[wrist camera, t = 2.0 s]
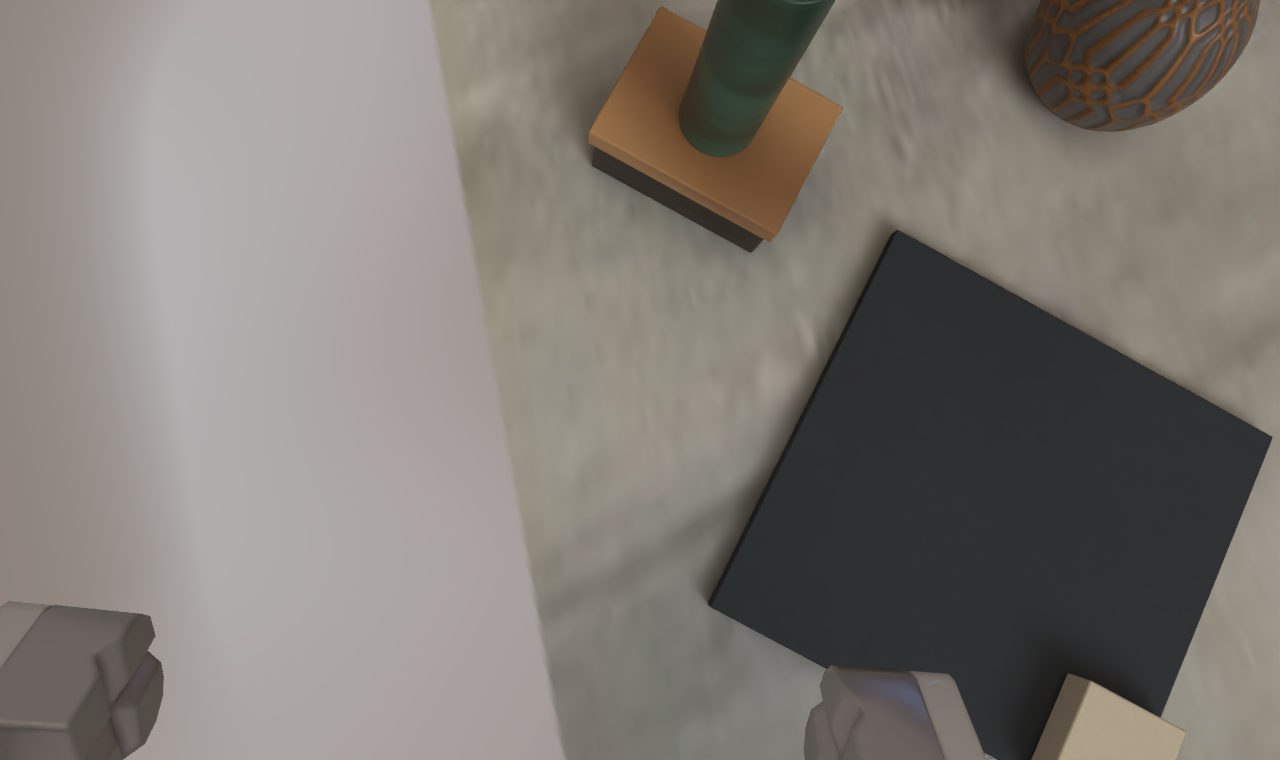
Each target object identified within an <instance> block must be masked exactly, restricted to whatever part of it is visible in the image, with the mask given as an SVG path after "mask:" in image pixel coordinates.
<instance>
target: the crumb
mask: <svg viewBox="0 0 1280 760" xmlns="http://www.w3.org/2000/svg"><path fill="white" fill-rule="evenodd" d="M1185 736H1186V732H1185V731H1184V730H1182V729H1181V728H1179V727H1177V726H1175V725H1173V724H1171V723H1169V722H1168V721H1166V720H1164V719H1162V718H1160V717H1158V716H1156V715H1154V714H1153V713H1151V712H1149V711H1147V710H1145V709H1143V708H1141V707H1140V706H1138V705H1136V704H1134V703H1132V702H1130V701H1128V700H1127V699H1125V698H1123V697H1121V696H1119V695H1117V694H1115V693H1114V692H1112V691H1110V690H1108V689H1106V688H1104V687H1102V686H1101V685H1099V684H1097V683H1095V682H1093V681H1091V680H1088V679H1085V678H1082V677H1079V676H1076V675H1073V674H1070V673H1068V674H1067V676H1066V678H1065V681H1064V683H1063V685H1062V688H1061V690H1060V692H1059V695H1058V697H1057V700H1056V702H1055V704H1054V707H1053V709H1052V711H1051V714H1050V716H1049V719H1048V721H1047V723H1046V726H1045V728H1044V730H1043V733H1042V735H1041V738H1040V740H1039V742H1038V745H1037V747H1036V749H1035V752H1034V754H1033V756H1032V759H1031V760H1176V758H1177V756H1178V753H1179V751H1180V748H1181V746H1182V743H1183V741H1184V738H1185Z"/></svg>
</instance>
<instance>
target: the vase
mask: <svg viewBox="0 0 1280 760" xmlns="http://www.w3.org/2000/svg"><path fill="white" fill-rule="evenodd" d="M1259 3H1260V0H1041V2H1040V4H1039V6H1038V7H1037V9H1036V12H1035V14H1034V17H1033V19H1032V22H1031V25H1030V28H1029V32H1028V37H1027V42H1026V64H1027V69H1028V73H1029V77H1030V80H1031V83H1032V86H1033V88H1034V90H1035V92H1036V93H1037V95H1038V97H1039V98H1040V99H1041V101H1042V102H1043V103H1044V104H1045V105H1046V107H1047V108H1048V109H1049V110H1051V111H1052V112H1053V113H1054V114H1055V115H1057V116H1058V117H1060V118H1061V119H1063V120H1065V121H1067V122H1069V123H1071V124H1073V125H1075V126H1078V127H1081V128H1084V129H1088V130H1093V131H1108V132H1112V131H1124V130H1131V129H1136V128H1140V127H1144V126H1147V125H1151V124H1154V123H1156V122H1159V121H1161V120H1163V119H1165V118H1168V117H1170V116H1172V115H1174V114H1176V113H1177V112H1179V111H1181V110H1183V109H1185V108H1186V107H1188V106H1190V105H1191V104H1193V103H1194V102H1196V101H1197V100H1199V99H1200V98H1201V97H1203V96H1204V95H1205V94H1206V93H1207V92H1208V91H1210V90H1211V89H1212V88H1213V87H1214V86H1215V85H1216V84H1217V83H1218V82H1219V81H1220V80H1221V79H1222V78H1223V77H1224V76H1225V75H1226V73H1227V72H1228V71H1229V70H1230V69H1231V67H1232V66H1233V65H1234V64H1235V62H1236V61H1237V59H1238V58H1239V56H1240V55H1241V54H1242V52H1243V50H1244V48H1245V47H1246V45H1247V43H1248V41H1249V39H1250V37H1251V34H1252V32H1253V29H1254V26H1255V23H1256V19H1257V15H1258V9H1259Z"/></svg>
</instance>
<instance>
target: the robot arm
mask: <svg viewBox="0 0 1280 760" xmlns="http://www.w3.org/2000/svg"><path fill="white" fill-rule="evenodd" d="M154 638H155V632H154V629H153V625H152V621H151V617H150V616H147V615H144V614H136V613H128V612H118V611H107V610H98V609H88V608H78V607H68V606H58V605H44V604H32V603H22V602H12V601H9V602H7V603H5V604H4V605H2V606H1V607H0V760H123V759H124V758H126V757H127V756H129V755H130V754H131V753H133V752H134V751H136V750H137V749H138V748H140V747H141V746H142V745H144V744H145V743H146V741H147V739H148V737H149V735H150V732H151V730H152V728H153V726H154V724H155V722H156V719H157V716H158V712H159V708H160V705H161V701H162V697H163V680H164V676H163V671H162V665H161V662H160V661H159V660H158V659H157V658H155V657H154V656H153V655H152V654H151V653H150V652H148V651H147V650H148V648H149V647H150V645H151V643H152V641H153V639H154ZM820 688H821V692H822V697H823V702H821V703H820V704H818V705H817V706H815V707H814V708H812V709H811V712H810V716H809V719H808V722H807V725H806V732H805V743H804V756H805V760H987V759H986V757H985V754H984V752H983V749H982V747H981V744H980V742H979V739H978V737H977V734H976V732H975V729H974V727H973V724H972V722H971V719H970V717H969V715H968V712H967V710H966V707H965V705H964V702H963V700H962V697H961V695H960V692H959V690H958V687H957V685H956V682H955V680H954V679H953V678H952V677H951V676H950V675H949V674H944V673H930V672H917V671H908V672H907V671H905V670H895V669H879V668H864V667H848V666H832V665H831V666H830V667H829V668H828V669H827V670H826V671H825V673H824V676H823V678H822V681H821V684H820Z"/></svg>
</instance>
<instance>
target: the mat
mask: <svg viewBox="0 0 1280 760" xmlns="http://www.w3.org/2000/svg"><path fill="white" fill-rule="evenodd" d="M1271 440H1272V436H1270V435H1268V434H1266V433H1264V432H1262V431H1261V430H1259V429H1257V428H1255V427H1253V426H1252V425H1250V424H1248V423H1246V422H1244V421H1243V420H1241V419H1239V418H1237V417H1235V416H1234V415H1232V414H1230V413H1228V412H1226V411H1224V410H1223V409H1221V408H1219V407H1217V406H1215V405H1214V404H1212V403H1210V402H1208V401H1206V400H1205V399H1203V398H1201V397H1199V396H1197V395H1196V394H1194V393H1192V392H1190V391H1188V390H1186V389H1185V388H1183V387H1181V386H1179V385H1177V384H1176V383H1174V382H1172V381H1170V380H1168V379H1167V378H1165V377H1163V376H1161V375H1159V374H1158V373H1156V372H1154V371H1152V370H1150V369H1148V368H1147V367H1145V366H1143V365H1141V364H1139V363H1138V362H1136V361H1134V360H1132V359H1130V358H1129V357H1127V356H1125V355H1123V354H1121V353H1120V352H1118V351H1116V350H1114V349H1112V348H1111V347H1109V346H1107V345H1105V344H1103V343H1101V342H1100V341H1098V340H1096V339H1094V338H1092V337H1091V336H1089V335H1087V334H1085V333H1083V332H1082V331H1080V330H1078V329H1076V328H1074V327H1073V326H1071V325H1069V324H1067V323H1065V322H1063V321H1062V320H1060V319H1058V318H1056V317H1054V316H1053V315H1051V314H1049V313H1047V312H1045V311H1044V310H1042V309H1040V308H1038V307H1036V306H1035V305H1033V304H1031V303H1029V302H1027V301H1025V300H1024V299H1022V298H1020V297H1018V296H1016V295H1015V294H1013V293H1011V292H1009V291H1007V290H1006V289H1004V288H1002V287H1000V286H998V285H997V284H995V283H993V282H991V281H989V280H987V279H986V278H984V277H982V276H980V275H978V274H977V273H975V272H973V271H971V270H969V269H968V268H966V267H964V266H962V265H960V264H959V263H957V262H955V261H953V260H951V259H950V258H948V257H946V256H944V255H942V254H940V253H939V252H937V251H935V250H933V249H931V248H930V247H928V246H926V245H924V244H922V243H921V242H919V241H917V240H915V239H913V238H912V237H910V236H908V235H906V234H904V233H902V232H901V231H899V230H896V231H895V232H894V233H892V234H891V236H890V238H889V240H888V242H887V244H886V246H885V248H884V250H883V252H882V254H881V256H880V258H879V260H878V262H877V264H876V266H875V268H874V270H873V272H872V274H871V276H870V278H869V280H868V282H867V284H866V286H865V288H864V290H863V292H862V294H861V296H860V298H859V300H858V302H857V304H856V306H855V308H854V310H853V312H852V314H851V316H850V318H849V321H848V323H847V325H846V327H845V329H844V331H843V333H842V335H841V337H840V339H839V341H838V343H837V345H836V347H835V349H834V351H833V353H832V355H831V357H830V359H829V361H828V363H827V365H826V367H825V369H824V371H823V373H822V375H821V377H820V379H819V381H818V383H817V385H816V387H815V389H814V391H813V393H812V395H811V397H810V399H809V401H808V403H807V405H806V407H805V409H804V411H803V413H802V415H801V417H800V419H799V421H798V423H797V425H796V427H795V429H794V431H793V433H792V435H791V437H790V439H789V441H788V443H787V445H786V447H785V449H784V451H783V453H782V455H781V457H780V459H779V461H778V463H777V465H776V468H775V470H774V472H773V474H772V476H771V478H770V480H769V482H768V484H767V486H766V488H765V490H764V492H763V494H762V496H761V498H760V500H759V502H758V504H757V506H756V508H755V510H754V512H753V514H752V516H751V518H750V520H749V522H748V524H747V526H746V528H745V530H744V532H743V534H742V536H741V538H740V540H739V542H738V544H737V546H736V548H735V550H734V552H733V554H732V556H731V558H730V560H729V562H728V564H727V566H726V568H725V570H724V572H723V574H722V576H721V578H720V580H719V582H718V584H717V586H716V588H715V590H714V592H713V594H712V596H711V598H710V600H709V602H708V605H709V606H710V607H712V608H714V609H715V610H717V611H719V612H721V613H723V614H725V615H727V616H729V617H730V618H732V619H734V620H736V621H738V622H740V623H742V624H744V625H746V626H747V627H749V628H751V629H753V630H755V631H757V632H759V633H761V634H762V635H764V636H766V637H768V638H770V639H772V640H774V641H776V642H778V643H779V644H781V645H783V646H785V647H787V648H789V649H791V650H793V651H794V652H796V653H798V654H800V655H802V656H804V657H806V658H808V659H810V660H811V661H813V662H815V663H817V664H819V665H821V666H823V667H825V668H826V669H828V668H829V667H830V666H831V665H832V666H848V667H864V668H879V669H895V670H905V671H907V672H908V671H917V672H930V673H944V674H949V675H950V676H951V677H952V678H953V679H954V680H955V682H956V685H957V687H958V690H959V692H960V695H961V697H962V700H963V702H964V705H965V707H966V710H967V712H968V715H969V717H970V719H971V722H972V724H973V727H974V729H975V732H976V734H977V737H978V739H979V742H980V744H981V747H982V749H983V752H985V753H986V754H988V755H990V756H992V757H994V758H996V759H998V760H1031V759H1032V756H1033V754H1034V752H1035V749H1036V747H1037V745H1038V742H1039V740H1040V738H1041V735H1042V733H1043V730H1044V728H1045V726H1046V723H1047V721H1048V719H1049V716H1050V714H1051V711H1052V709H1053V707H1054V704H1055V702H1056V700H1057V697H1058V695H1059V692H1060V690H1061V688H1062V685H1063V683H1064V681H1065V678H1066V676H1067V674H1068V673H1070V674H1073V675H1076V676H1079V677H1082V678H1085V679H1088V680H1091V681H1093V682H1095V683H1097V684H1099V685H1101V686H1102V687H1104V688H1106V689H1108V690H1110V691H1112V692H1114V693H1115V694H1117V695H1119V696H1121V697H1123V698H1125V699H1127V700H1128V701H1130V702H1132V703H1134V704H1136V705H1138V706H1140V707H1141V708H1143V709H1145V710H1147V711H1149V712H1151V713H1153V714H1154V715H1156V716H1158V717H1161V715H1162V712H1163V710H1164V707H1165V705H1166V702H1167V700H1168V697H1169V695H1170V692H1171V690H1172V687H1173V685H1174V682H1175V680H1176V677H1177V675H1178V672H1179V670H1180V667H1181V665H1182V662H1183V660H1184V657H1185V655H1186V652H1187V650H1188V647H1189V645H1190V642H1191V640H1192V637H1193V635H1194V632H1195V630H1196V627H1197V625H1198V622H1199V620H1200V618H1201V615H1202V613H1203V610H1204V608H1205V605H1206V603H1207V600H1208V598H1209V595H1210V593H1211V590H1212V588H1213V585H1214V583H1215V580H1216V578H1217V575H1218V573H1219V570H1220V568H1221V565H1222V563H1223V560H1224V558H1225V555H1226V553H1227V550H1228V548H1229V545H1230V543H1231V540H1232V538H1233V535H1234V533H1235V530H1236V528H1237V525H1238V523H1239V520H1240V518H1241V515H1242V513H1243V510H1244V508H1245V505H1246V503H1247V500H1248V498H1249V495H1250V493H1251V490H1252V488H1253V485H1254V483H1255V480H1256V478H1257V475H1258V473H1259V470H1260V468H1261V465H1262V463H1263V460H1264V458H1265V455H1266V453H1267V450H1268V448H1269V445H1270V443H1271Z"/></svg>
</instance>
